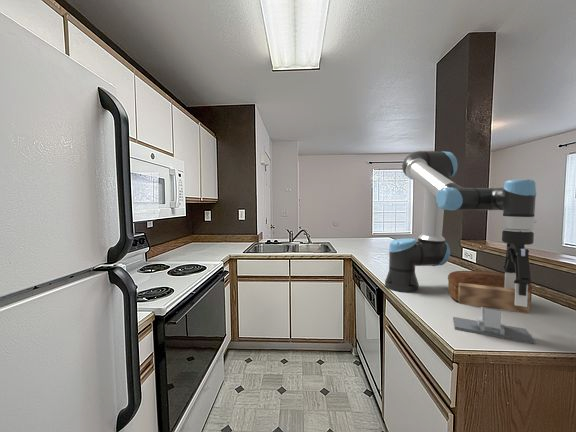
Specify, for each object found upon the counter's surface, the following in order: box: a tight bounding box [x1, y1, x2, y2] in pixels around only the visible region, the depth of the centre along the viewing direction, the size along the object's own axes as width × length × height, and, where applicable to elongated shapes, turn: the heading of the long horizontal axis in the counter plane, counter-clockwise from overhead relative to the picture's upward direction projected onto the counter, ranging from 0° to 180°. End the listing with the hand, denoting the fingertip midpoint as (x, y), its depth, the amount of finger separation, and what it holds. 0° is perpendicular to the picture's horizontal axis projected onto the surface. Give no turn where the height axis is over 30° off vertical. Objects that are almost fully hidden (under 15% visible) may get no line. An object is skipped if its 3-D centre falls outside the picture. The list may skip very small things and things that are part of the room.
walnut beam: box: [457, 283, 531, 314], centre depth 90 cm, size 18×4×6 cm, turn 63°
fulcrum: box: [452, 307, 536, 344], centre depth 90 cm, size 20×9×8 cm, turn 63°
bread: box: [447, 270, 533, 304], centre depth 117 cm, size 14×28×12 cm, turn 72°
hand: (514, 298), depth 87 cm, fingers open, 13 cm apart
